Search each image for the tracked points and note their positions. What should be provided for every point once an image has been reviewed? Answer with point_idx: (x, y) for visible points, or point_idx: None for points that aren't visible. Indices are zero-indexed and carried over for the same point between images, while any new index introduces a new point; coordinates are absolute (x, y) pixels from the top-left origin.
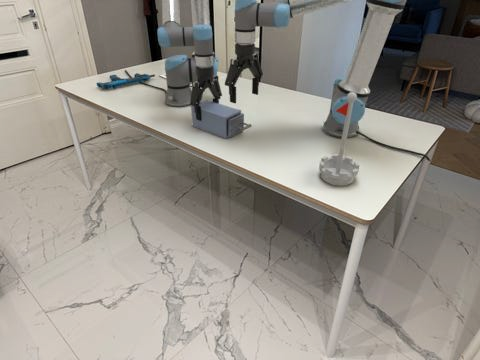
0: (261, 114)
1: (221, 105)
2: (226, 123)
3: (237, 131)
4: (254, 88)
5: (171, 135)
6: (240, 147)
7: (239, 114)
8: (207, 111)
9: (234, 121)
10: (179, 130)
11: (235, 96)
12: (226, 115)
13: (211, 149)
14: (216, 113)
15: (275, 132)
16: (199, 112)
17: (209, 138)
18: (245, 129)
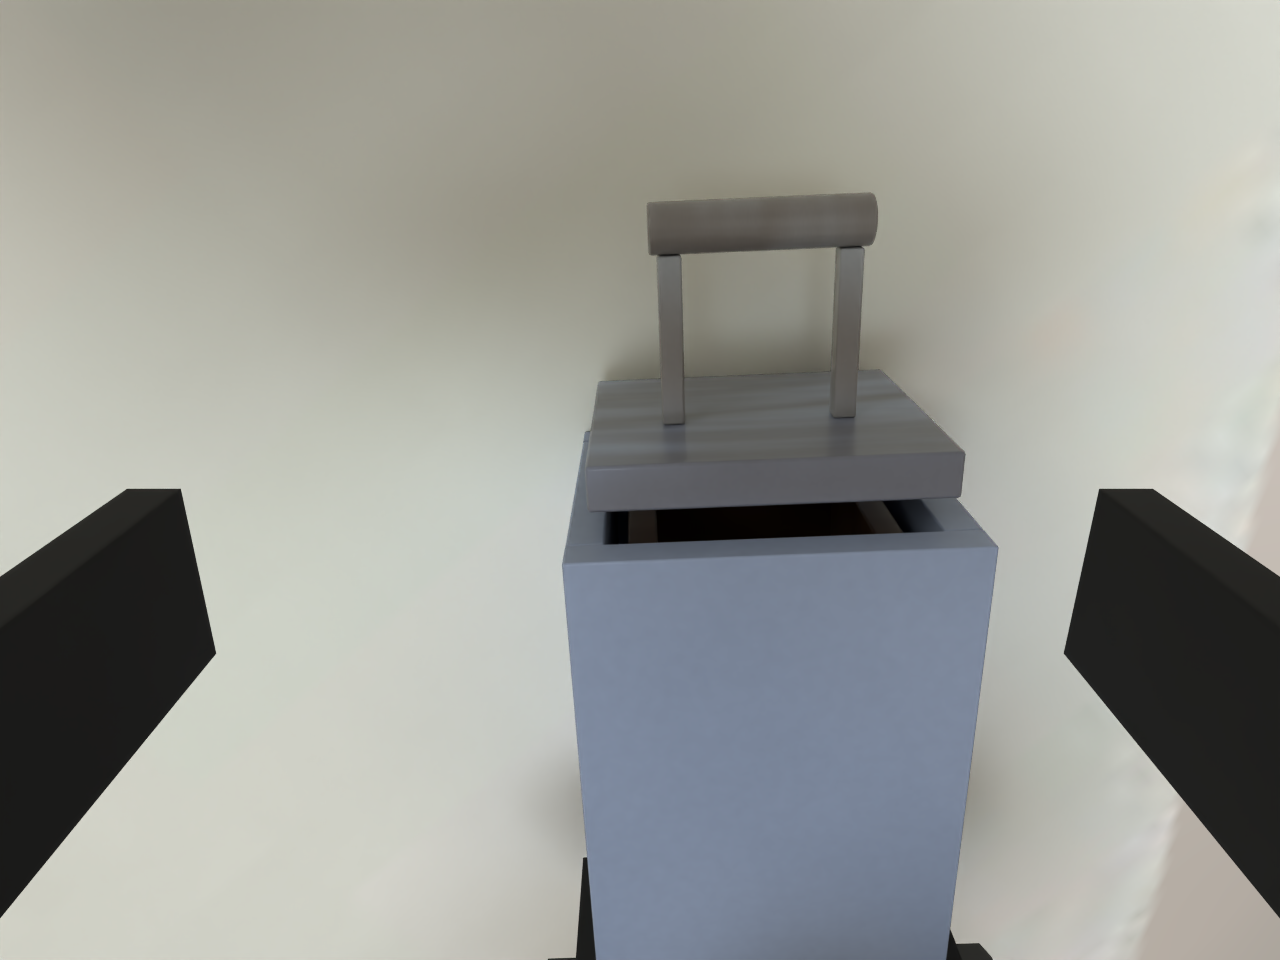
0: (8, 569)
1: (629, 895)
2: (937, 500)
3: (739, 384)
4: (107, 676)
5: (1154, 866)
6: (986, 95)
7: (606, 539)
8: (953, 882)
9: (840, 438)
10: (1016, 891)
11: (1256, 585)
12: (911, 594)
13: (1229, 349)
14: (939, 752)
15: (261, 17)
16: (954, 948)
17: (996, 563)
18: (813, 197)
